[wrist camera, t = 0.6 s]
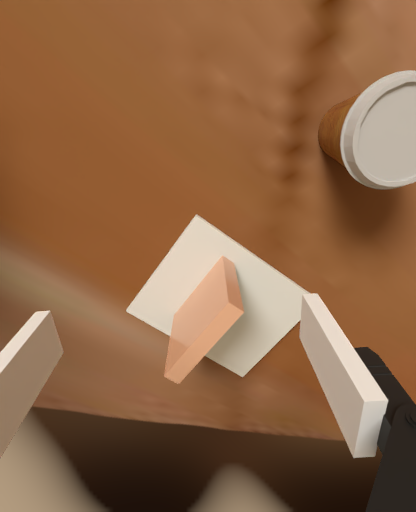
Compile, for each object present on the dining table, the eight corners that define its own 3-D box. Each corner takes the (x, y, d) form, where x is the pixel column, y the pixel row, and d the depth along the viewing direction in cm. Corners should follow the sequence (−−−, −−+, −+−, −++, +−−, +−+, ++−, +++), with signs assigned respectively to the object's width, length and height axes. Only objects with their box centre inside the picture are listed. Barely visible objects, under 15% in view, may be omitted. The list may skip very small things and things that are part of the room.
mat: (126, 309, 46) (126, 311, 45) (196, 214, 40) (196, 215, 40) (242, 374, 51) (242, 377, 51) (318, 298, 46) (319, 300, 45)
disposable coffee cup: (392, 152, 37) (470, 164, 26) (316, 184, 39) (360, 209, 28) (376, 69, 34) (458, 44, 23) (293, 108, 35) (333, 101, 24)
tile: (173, 315, 46) (163, 376, 35) (222, 255, 42) (228, 302, 31) (185, 322, 46) (179, 384, 35) (234, 263, 42) (244, 312, 31)
